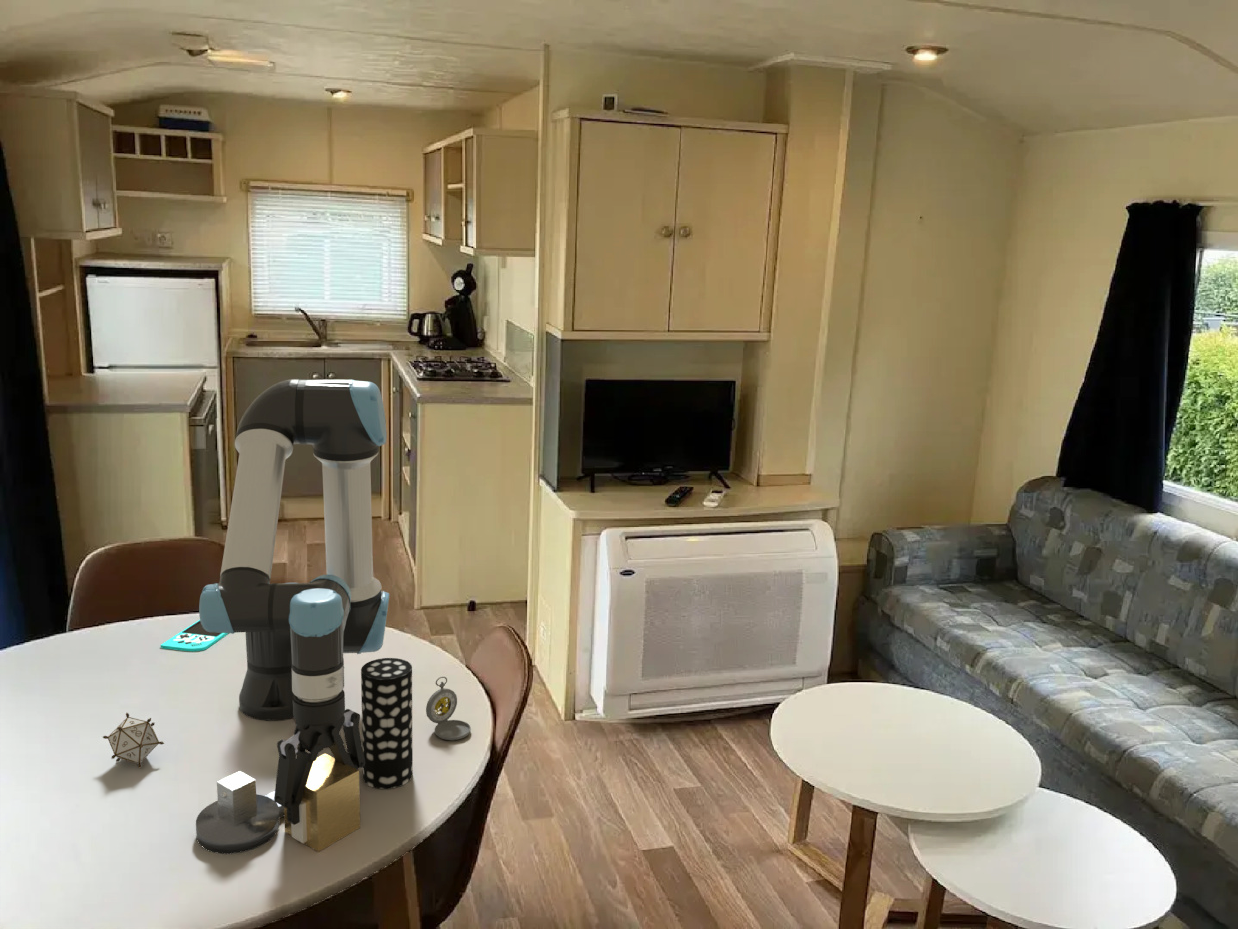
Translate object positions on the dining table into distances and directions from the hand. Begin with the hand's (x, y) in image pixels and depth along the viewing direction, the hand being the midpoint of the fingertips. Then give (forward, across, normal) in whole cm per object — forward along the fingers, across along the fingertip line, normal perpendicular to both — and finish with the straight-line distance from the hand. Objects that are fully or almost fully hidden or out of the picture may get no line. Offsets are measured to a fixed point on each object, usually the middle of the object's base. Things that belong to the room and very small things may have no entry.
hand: (322, 825), depth 155 cm
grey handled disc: (+1, -2, +10) cm, 10 cm away
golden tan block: (+1, 0, 0) cm, 1 cm away
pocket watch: (+1, +35, +7) cm, 36 cm away
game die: (+1, -7, +41) cm, 42 cm away
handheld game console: (+2, +30, +80) cm, 85 cm away
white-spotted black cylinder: (+1, +17, +4) cm, 17 cm away
